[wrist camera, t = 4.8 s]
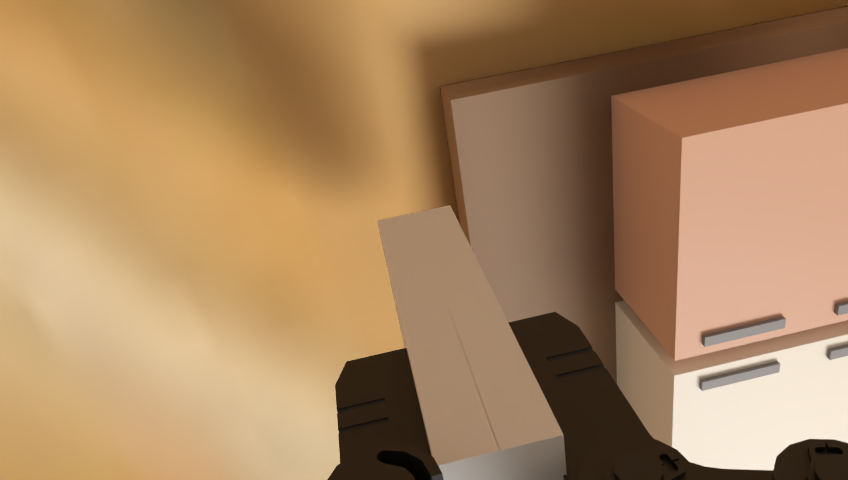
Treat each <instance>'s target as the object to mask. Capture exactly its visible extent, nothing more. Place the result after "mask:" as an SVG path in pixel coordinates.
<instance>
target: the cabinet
mask: <svg viewBox="0 0 848 480" xmlns="http://www.w3.org/2000/svg"><path fill="white" fill-rule="evenodd" d="M611 107H612V158H613V209H614V260H615V290H616V291H617V292H618V293H619V295H620V296H621V297H622V298H623V299H624V301H625V302H626V303H627V304H628V305H629V307H630V308H631V309H632V310H633V311H634V313H635V314H636V315H637V316H638V317H639V319H640V320H641V321H642V322H643V323H644V325H645V326H646V327H647V328H648V329H649V331H650V332H651V333H652V334H653V336H654V337H655V338H656V339H657V340H658V342H659V343H660V344H661V345H662V346H663V348H664V349H665V350H666V351H667V352H668V354H669V355H670V356H671V357H672V358H673V360H674V361H677V360H681V359H686V358H690V357H694V356H698V355H702V354H707V353H711V352H715V351H719V350H724V349H728V348H732V347H736V346H740V345H745V344H749V343H753V342H757V341H762V340H766V339H770V338H774V337H778V336H783V335H787V334H791V333H795V332H800V331H804V330H808V329H812V328H817V327H821V326H825V325H829V324H833V323H838V322H842V321H846V320H848V48H845V49H840V50H835V51H830V52H825V53H820V54H815V55H811V56H806V57H801V58H796V59H791V60H786V61H781V62H776V63H771V64H766V65H761V66H756V67H751V68H746V69H741V70H737V71H732V72H727V73H722V74H717V75H712V76H707V77H702V78H697V79H692V80H687V81H682V82H677V83H672V84H667V85H662V86H658V87H653V88H648V89H643V90H638V91H633V92H628V93H623V94H618V95H613V96H611Z"/></svg>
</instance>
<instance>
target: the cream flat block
mask: <svg viewBox="0 0 848 480" xmlns="http://www.w3.org/2000/svg"><path fill="white" fill-rule="evenodd" d="M615 312H616V363H617V385H618V387H619V388H620V390H621V391H622V393H623V394H624V396H625V397H626V399H627V401H628V402H629V404H630V405H631V407H632V408H633V410H634V411H635V413H636V414H637V416H638V417H639V419H640V420H641V422H642V423H643V425H644V426H645V428H646V429H647V431H648V432H649V434H650V435H651V436H652V437H653V438H654V439H656V440H659V441H661V442H663V443H665V444H667V445H669V446H671V447H673V448H675V449H677V450H678V451H679V452H680V453H681V454H682V455H683V456H684V457H685V458H686V459H687V460H688V461H689V462H691V463H695V464H698V465H701V466H705V467H712V468H721V469H743V470H773V469H774V465H775V461H776V457H777V456H778V455H779V454H780V453H781V452H782V451H783V450H784V449H785V448H786V447H788V446H789V445H790V444H794V443H797V442H801V441H804V440H808V439H834V440H838V441H842V442H846V443H848V320H846V321H842V322H838V323H833V324H829V325H825V326H821V327H817V328H812V329H808V330H804V331H800V332H795V333H791V334H787V335H783V336H778V337H774V338H770V339H766V340H762V341H757V342H753V343H749V344H745V345H740V346H736V347H732V348H728V349H724V350H719V351H715V352H711V353H707V354H702V355H698V356H694V357H690V358H686V359H681V360H677V361H674V360H673V358H672V357H671V356H670V355H669V354H668V352H667V351H666V350H665V349H664V348H663V346H662V345H661V344H660V343H659V342H658V340H657V339H656V338H655V337H654V336H653V334H652V333H651V332H650V331H649V329H648V328H647V327H646V326H645V325H644V323H643V322H642V321H641V320H640V319H639V317H638V316H637V315H636V314H635V313H634V311H633V310H632V309H631V308H630V307H629V305H628V304H627V303H626V302H625V301H619V302H615Z"/></svg>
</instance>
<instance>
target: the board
mask: <svg viewBox="0 0 848 480" xmlns="http://www.w3.org/2000/svg"><path fill="white" fill-rule="evenodd" d="M845 48H848V6H846V7H841V8H836V9H831V10H826V11H821V12H816V13H811V14H806V15H801V16H796V17H791V18H786V19H781V20H775V21H770V22H765V23H760V24H755V25H750V26H745V27H740V28H735V29H730V30H725V31H720V32H715V33H710V34H705V35H699V36H694V37H689V38H684V39H679V40H674V41H669V42H664V43H659V44H654V45H649V46H644V47H639V48H634V49H629V50H623V51H618V52H613V53H608V54H603V55H598V56H593V57H588V58H583V59H578V60H573V61H568V62H563V63H558V64H553V65H547V66H542V67H537V68H532V69H527V70H522V71H517V72H512V73H507V74H502V75H497V76H492V77H487V78H482V79H477V80H471V81H466V82H461V83H456V84H451V85H446V86H441V87H440V90H441V97H442V104H443V111H444V118H445V125H446V132H447V139H448V146H449V153H450V160H451V167H452V174H453V181H454V188H455V195H456V202H457V209H458V216H459V223H460V226H461V228H462V230H463V232H464V234H465V236H466V238H467V240H468V242H469V244H470V246H471V248H472V250H473V252H474V254H475V256H476V258H477V261H478V263H479V265H480V267H481V269H482V271H483V273H484V275H485V277H486V279H487V281H488V283H489V285H490V287H491V289H492V291H493V293H494V295H495V297H496V299H497V301H498V303H499V305H500V307H501V309H502V311H503V313H504V315H505V317H506V319H507V321H508V322H512V321H517V320H521V319H526V318H530V317H534V316H539V315H543V314H547V313H552V312H556V313H558V314H560V315H561V316H563V317H564V318H566V319H568V320H569V321H571V322H572V323H574V324H576V325H577V326H579V328H580V329H581V331H582V332H583V334H584V335H585V337H586V338H587V340H588V341H589V343H590V344H591V346H592V349H593V351H595V352H596V353H597V355H598V356H599V358H600V360H601V361H602V363H603V365H604V368H606V369H607V370H608V372H609V373H610V375H611V376H612V378H613V379H614V381H615V382H616V384H617V363H616V312H615V302H619V301H624V299H623V298H622V297H621V296H620V295H619V293H618V292H617V291H616V290H615V260H614V209H613V158H612V107H611V96H613V95H618V94H623V93H628V92H633V91H638V90H643V89H648V88H653V87H658V86H662V85H667V84H672V83H677V82H682V81H687V80H692V79H697V78H702V77H707V76H712V75H717V74H722V73H727V72H732V71H737V70H741V69H746V68H751V67H756V66H761V65H766V64H771V63H776V62H781V61H786V60H791V59H796V58H801V57H806V56H811V55H815V54H820V53H825V52H830V51H835V50H840V49H845Z"/></svg>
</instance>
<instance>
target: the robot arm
mask: <svg viewBox="0 0 848 480" xmlns="http://www.w3.org/2000/svg"><path fill="white" fill-rule="evenodd" d="M378 226H379V231H380V235H381V240H382V245H383V249H384V254H385V259H386V263H387V268H388V273H389V278H390V282H391V287H392V292H393V296H394V301H395V306H396V310H397V315H398V320H399V324H400V329H401V333H402V338H403V342H404V346H405V348H404V349H400V350H395V351H391V352H387V353H382V354H378V355H374V356H369V357H365V358H361V359H356V360H352V361H347V362H346V364H345V366H344V368H343V370H342V372H341V374H340V377H339V379H338V381H337V383H336V385H335V387H336V402H337V411H338V414H337V417H338V430H339V448H340V464H339V465H338V466H337V467H336V468H335V469H334V471H333V472H332V474H331V475H330V477H329V478H328V480H848V443H846V442H842V441H838V440H834V439H808V440H804V441H801V442H797V443H794V444H790V445H789V446H788V447H786V448H785V449H784V450H783V451H782V452H781V453H780V454H779V455H778V456H777V457H776V461H775V465H774V469H773V470H743V469H721V468H712V467H705V466H701V465H698V464H695V463H691V462H689V461H688V460H687V459H686V458H685V457H684V456H683V455H682V454H681V453H680V452H679V451H678V450H677V449H675V448H673V447H671V446H669V445H667V444H665V443H663V442H661V441H659V440H656V439H654V438H653V437H652V436H651V435H650V434H649V432H648V431H647V429H646V428H645V426H644V425H643V423H642V422H641V420H640V419H639V417H638V416H637V414H636V413H635V411H634V410H633V408H632V407H631V405H630V404H629V402H628V401H627V399H626V397H625V396H624V394H623V393H622V391H621V390H620V388H619V387H618V385H617V384H616V382H615V381H614V379H613V378H612V376H611V375H610V373H609V372H608V370H607V369H606V368H604V365H603V363H602V361H601V360H600V358H599V356H598V355H597V353H596V352H595V351H593V349H592V346H591V344H590V343H589V341H588V340H587V338H586V337H585V335H584V334H583V332H582V331H581V329H580V328H579V326H577V325H576V324H574V323H572V322H571V321H569V320H568V319H566V318H564V317H563V316H561V315H560V314H558V313H556V312H552V313H547V314H543V315H539V316H534V317H530V318H526V319H521V320H517V321H512V322H508V321H507V319H506V317H505V315H504V313H503V311H502V309H501V307H500V305H499V303H498V301H497V299H496V297H495V295H494V293H493V291H492V289H491V287H490V285H489V283H488V281H487V279H486V277H485V275H484V273H483V271H482V269H481V267H480V265H479V263H478V261H477V258H476V256H475V254H474V252H473V250H472V248H471V246H470V244H469V242H468V240H467V238H466V236H465V234H464V232H463V230H462V228H461V226H460V224H459V222H458V220H457V218H456V216H455V214H454V212H453V210H452V208H451V206H450V205H448V206H444V207H439V208H434V209H430V210H425V211H420V212H416V213H411V214H406V215H402V216H397V217H392V218H388V219H383V220H378Z"/></svg>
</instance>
